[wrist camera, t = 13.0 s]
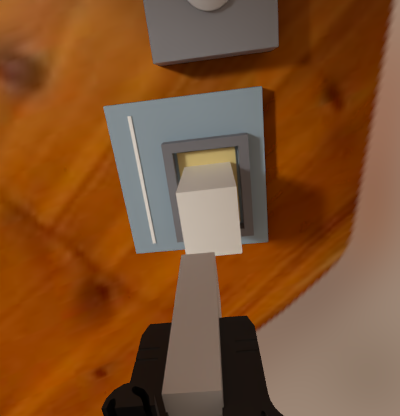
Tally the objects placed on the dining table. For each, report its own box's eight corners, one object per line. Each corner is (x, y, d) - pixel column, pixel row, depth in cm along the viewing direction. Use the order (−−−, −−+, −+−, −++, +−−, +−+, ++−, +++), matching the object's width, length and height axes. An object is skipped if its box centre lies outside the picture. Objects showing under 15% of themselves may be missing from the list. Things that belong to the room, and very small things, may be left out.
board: (107, 105, 26) (98, 107, 24) (259, 86, 25) (264, 86, 23) (139, 247, 31) (133, 259, 29) (266, 236, 30) (270, 248, 28)
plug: (184, 166, 26) (175, 193, 20) (230, 161, 26) (236, 186, 19) (193, 226, 28) (188, 267, 22) (235, 222, 28) (243, 262, 22)
